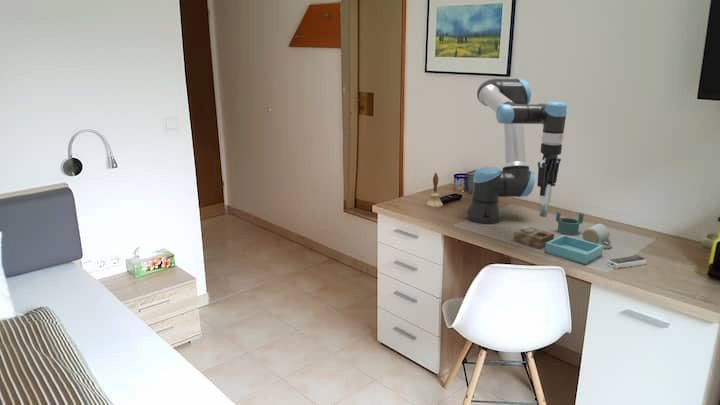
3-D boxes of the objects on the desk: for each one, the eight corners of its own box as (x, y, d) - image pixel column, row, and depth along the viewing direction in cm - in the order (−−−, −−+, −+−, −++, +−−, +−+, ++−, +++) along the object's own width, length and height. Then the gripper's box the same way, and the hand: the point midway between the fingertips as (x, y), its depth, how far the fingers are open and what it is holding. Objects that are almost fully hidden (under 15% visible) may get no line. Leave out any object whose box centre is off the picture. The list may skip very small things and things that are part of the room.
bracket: (582, 233, 228) (585, 213, 226) (568, 236, 224) (571, 216, 221) (565, 227, 236) (568, 207, 233) (551, 230, 231) (553, 210, 229)
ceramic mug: (580, 242, 217) (582, 225, 215) (590, 238, 222) (593, 221, 219) (605, 251, 209) (608, 232, 207) (615, 246, 214) (618, 228, 211)
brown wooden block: (513, 240, 218) (514, 229, 217) (526, 235, 225) (527, 224, 223) (540, 249, 210) (541, 237, 208) (553, 243, 216) (554, 231, 215)
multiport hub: (646, 265, 197) (647, 259, 196) (615, 270, 192) (616, 264, 191) (636, 260, 201) (637, 255, 200) (606, 265, 196) (607, 259, 195)
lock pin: (537, 215, 212) (541, 183, 208) (541, 214, 214) (545, 182, 210) (544, 217, 210) (548, 185, 206) (548, 215, 212) (551, 184, 208)
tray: (544, 252, 206) (545, 242, 205) (562, 244, 215) (563, 234, 214) (585, 264, 195) (586, 254, 194) (602, 255, 204) (603, 245, 203)
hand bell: (440, 207, 260) (442, 176, 256) (423, 205, 264) (425, 174, 259) (445, 203, 268) (446, 172, 263) (429, 201, 271) (430, 170, 267)
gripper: (550, 147, 196) (542, 208, 202) (571, 142, 206) (563, 200, 213) (531, 144, 201) (525, 204, 208) (553, 139, 211) (546, 196, 218)
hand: (544, 202), depth 210 cm, fingers closed on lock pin, 3 cm apart
